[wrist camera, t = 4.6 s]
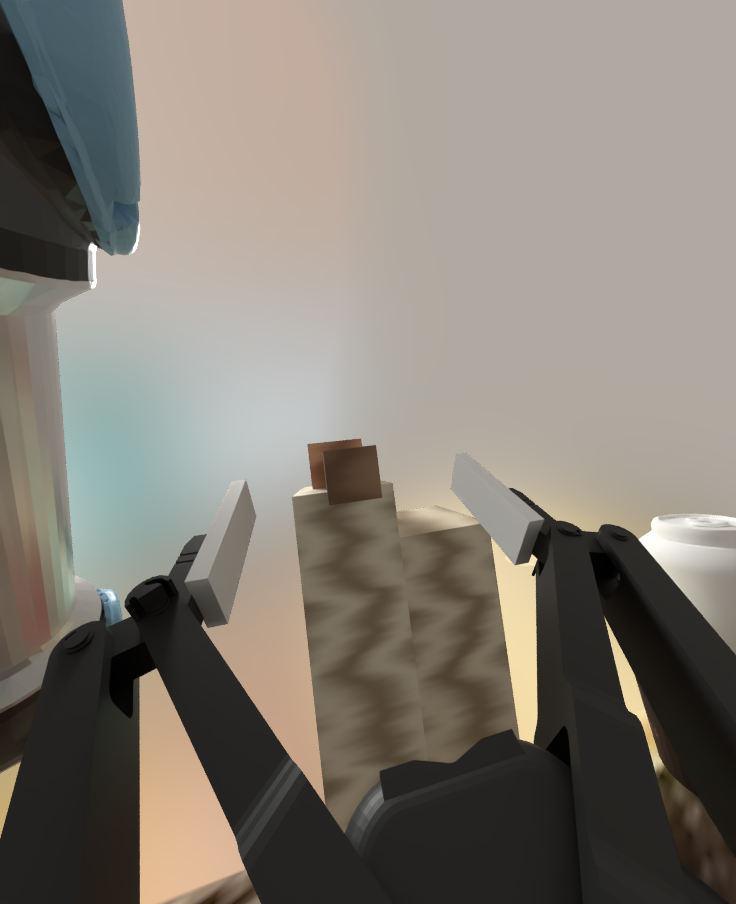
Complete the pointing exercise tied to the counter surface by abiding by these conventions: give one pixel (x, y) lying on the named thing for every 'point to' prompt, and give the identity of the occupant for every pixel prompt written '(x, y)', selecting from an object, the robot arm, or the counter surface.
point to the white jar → (700, 564)
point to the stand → (398, 638)
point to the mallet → (345, 470)
